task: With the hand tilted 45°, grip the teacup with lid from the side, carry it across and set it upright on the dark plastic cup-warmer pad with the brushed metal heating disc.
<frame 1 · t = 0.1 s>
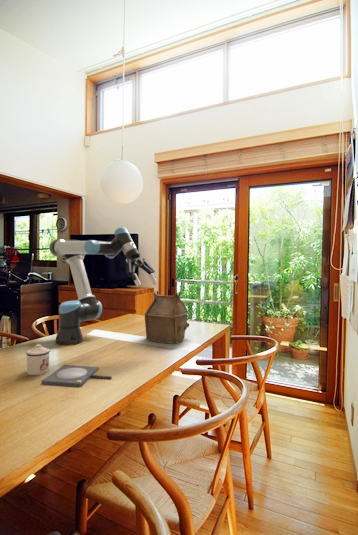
hand: (147, 284, 158), 36 cm above the table, tool tilted 35°, fingers open, 13 cm apart
warming pad: (72, 376, 124), on the table
teacup with lid: (39, 371, 129), on the table
hut: (166, 339, 185), on the table
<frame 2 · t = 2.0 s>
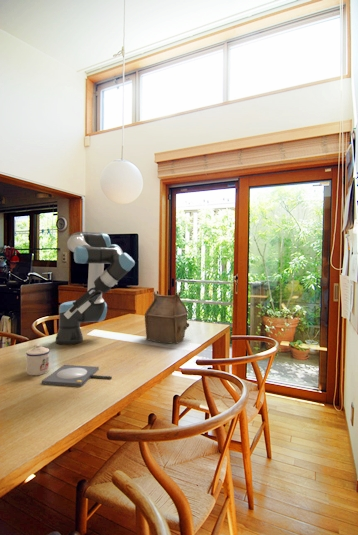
hand: (73, 313, 135), 24 cm above the table, tool tilted 45°, fingers open, 13 cm apart
nothing on the table moved.
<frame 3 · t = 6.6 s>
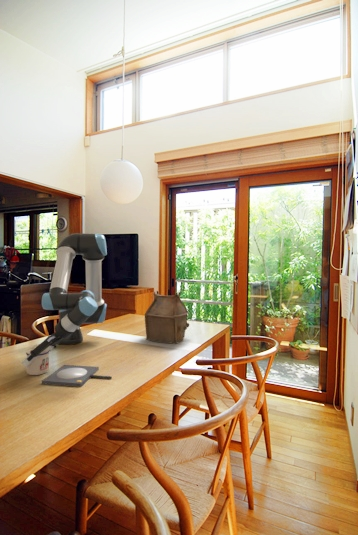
hand: (33, 359, 129), 5 cm above the table, tool tilted 45°, fingers closed on teacup with lid, 12 cm apart
teacup with lid: (39, 370, 129), on the table, touching gripper
everything else where it was.
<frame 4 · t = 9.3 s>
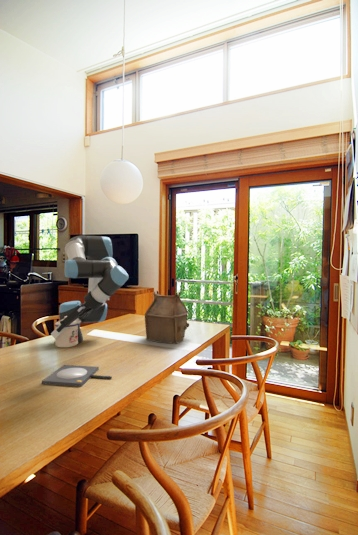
hand: (61, 332, 124), 18 cm above the table, tool tilted 45°, fingers closed on teacup with lid, 12 cm apart
teacup with lid: (68, 344, 124), point 13 cm above the table, touching gripper
everything else where it was.
when the fingers open (7 cm above the table, at t = 12.1 s): teacup with lid drops 1 cm, resting on warming pad.
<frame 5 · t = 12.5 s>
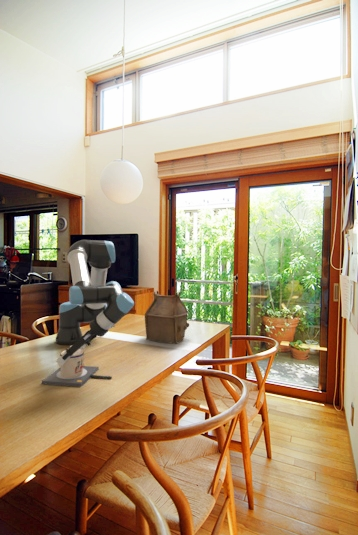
hand: (66, 358, 124), 7 cm above the table, tool tilted 45°, fingers open, 13 cm apart
teacup with lid: (73, 373, 124), point 1 cm above the table, touching warming pad
everything else where it was.
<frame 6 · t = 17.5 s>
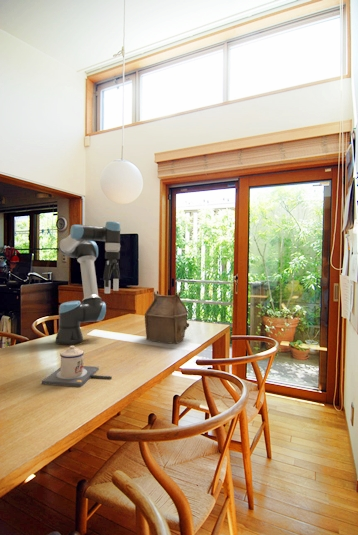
hand: (111, 292, 156), 32 cm above the table, tool pointing down, fingers open, 13 cm apart
nothing on the table moved.
at the end: teacup with lid inside the target area on the warming pad (0.5 cm from its centre), point 1.2 cm above the warming pad's base; teacup with lid tilted 0°; the gripper is holding nothing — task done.
